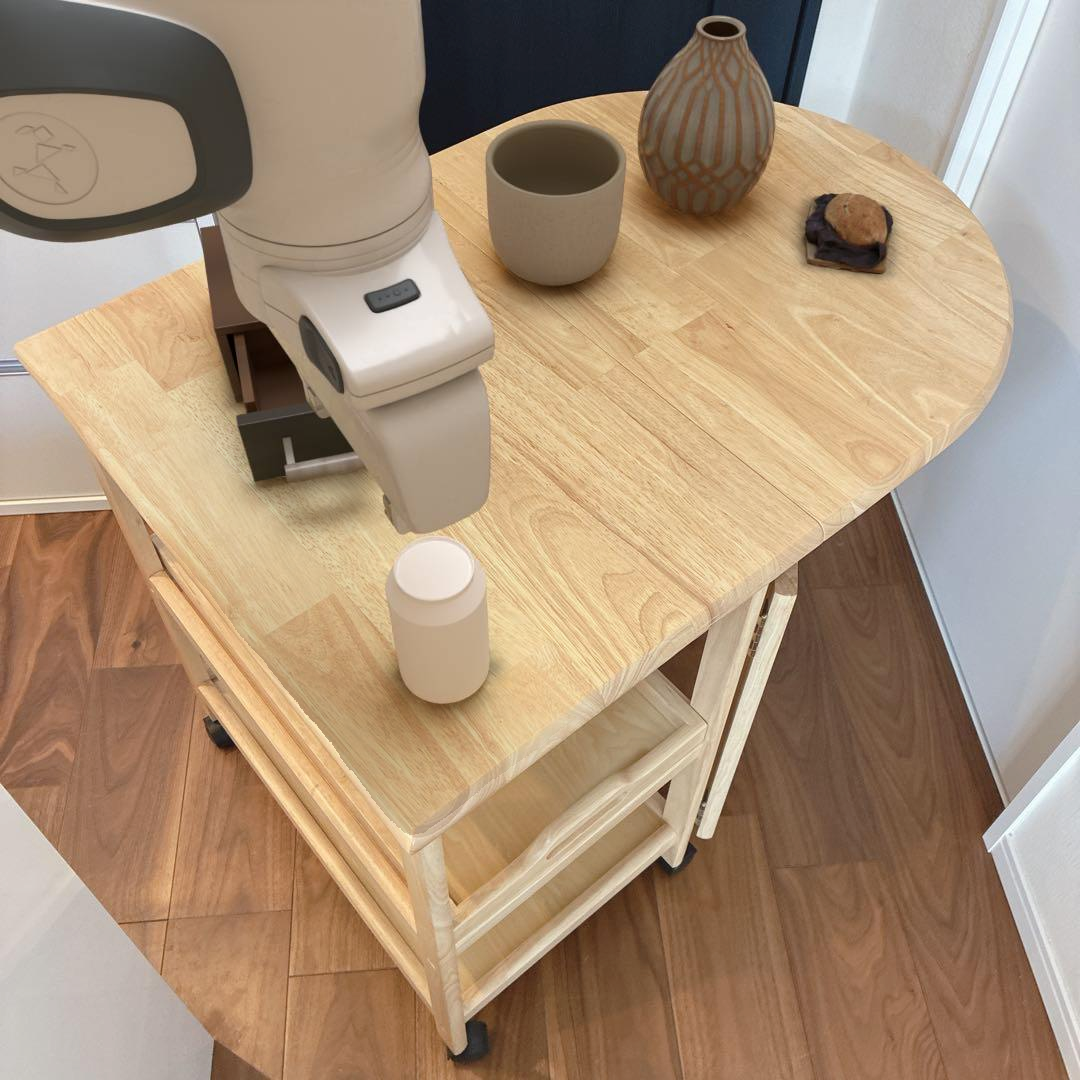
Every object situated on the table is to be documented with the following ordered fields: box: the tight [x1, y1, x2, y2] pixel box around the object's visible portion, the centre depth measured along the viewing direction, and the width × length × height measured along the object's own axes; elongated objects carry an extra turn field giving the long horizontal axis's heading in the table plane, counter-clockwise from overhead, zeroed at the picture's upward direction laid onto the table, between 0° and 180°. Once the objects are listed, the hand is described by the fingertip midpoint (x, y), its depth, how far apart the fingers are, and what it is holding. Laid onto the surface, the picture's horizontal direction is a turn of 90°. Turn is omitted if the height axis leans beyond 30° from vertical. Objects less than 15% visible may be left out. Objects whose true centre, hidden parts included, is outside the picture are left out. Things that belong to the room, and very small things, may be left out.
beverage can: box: [384, 535, 491, 704], centre depth 68 cm, size 6×6×12 cm
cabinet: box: [199, 224, 268, 403], centre depth 91 cm, size 14×13×8 cm
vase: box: [636, 15, 776, 217], centre depth 101 cm, size 13×13×18 cm
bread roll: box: [804, 192, 894, 274], centre depth 103 cm, size 11×8×4 cm
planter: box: [484, 118, 627, 287], centre depth 97 cm, size 12×12×11 cm
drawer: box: [233, 327, 367, 484], centre depth 83 cm, size 17×11×6 cm
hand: (365, 461), depth 56 cm, fingers open, 8 cm apart
